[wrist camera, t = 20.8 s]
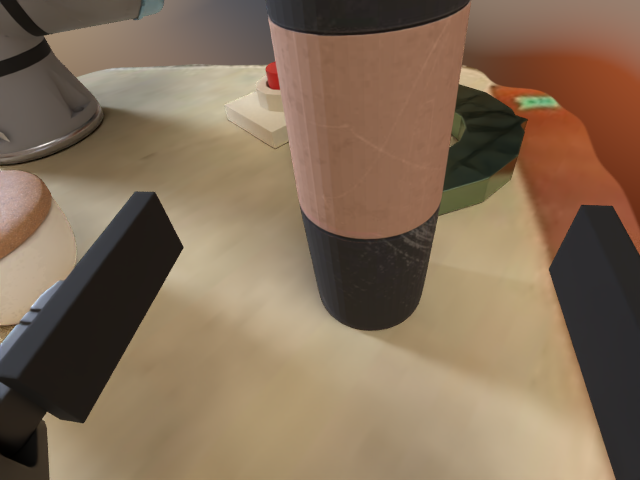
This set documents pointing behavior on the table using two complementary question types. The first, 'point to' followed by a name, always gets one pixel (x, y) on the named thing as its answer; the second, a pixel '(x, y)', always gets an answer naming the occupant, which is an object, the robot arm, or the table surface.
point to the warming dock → (480, 149)
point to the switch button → (272, 76)
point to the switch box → (260, 114)
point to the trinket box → (30, 243)
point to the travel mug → (369, 141)
